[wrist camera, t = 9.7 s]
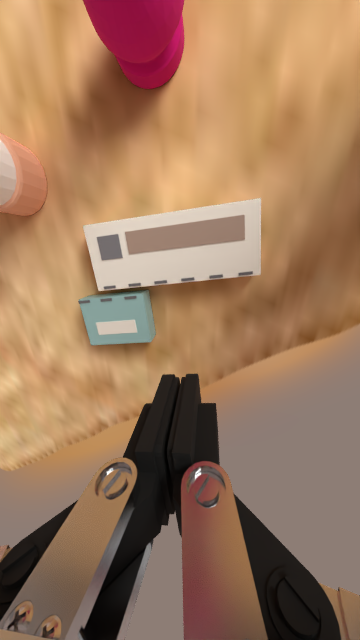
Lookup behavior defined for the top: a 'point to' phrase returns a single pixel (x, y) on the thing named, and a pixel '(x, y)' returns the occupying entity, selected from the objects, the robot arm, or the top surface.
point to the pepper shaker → (20, 179)
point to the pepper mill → (141, 36)
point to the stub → (118, 317)
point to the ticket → (177, 246)
